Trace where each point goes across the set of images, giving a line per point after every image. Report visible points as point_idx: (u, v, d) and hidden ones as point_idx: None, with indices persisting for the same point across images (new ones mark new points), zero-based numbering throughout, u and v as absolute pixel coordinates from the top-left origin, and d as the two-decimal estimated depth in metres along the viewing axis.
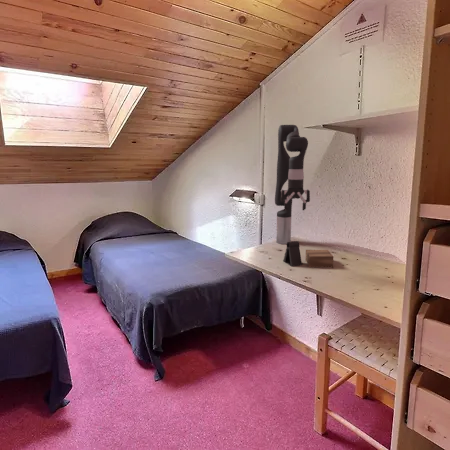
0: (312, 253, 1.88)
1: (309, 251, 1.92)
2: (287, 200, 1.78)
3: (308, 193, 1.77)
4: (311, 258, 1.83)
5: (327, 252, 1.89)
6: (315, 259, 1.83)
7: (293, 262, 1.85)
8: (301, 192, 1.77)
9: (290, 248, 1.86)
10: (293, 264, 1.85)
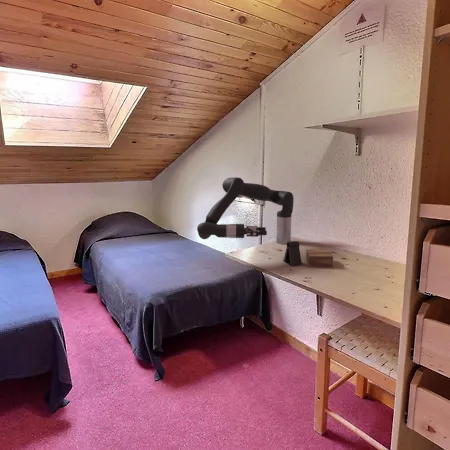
0: (312, 253, 1.88)
1: (309, 251, 1.92)
2: None
3: None
4: (310, 258, 1.83)
5: (327, 252, 1.89)
6: (314, 259, 1.83)
7: (293, 262, 1.85)
8: None
9: (290, 248, 1.86)
10: (293, 264, 1.85)
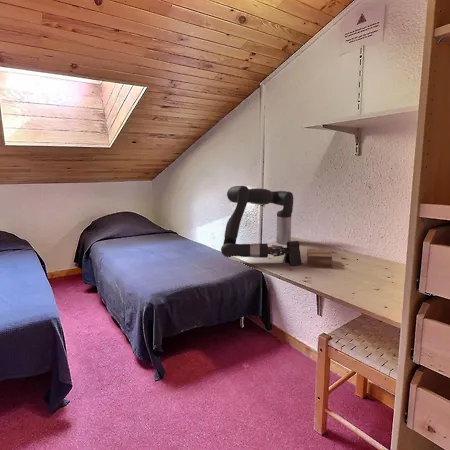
0: (312, 253, 1.88)
1: (310, 250, 1.92)
2: None
3: None
4: (309, 258, 1.83)
5: (327, 252, 1.88)
6: (313, 259, 1.83)
7: (293, 262, 1.85)
8: None
9: (290, 248, 1.86)
10: (293, 264, 1.85)
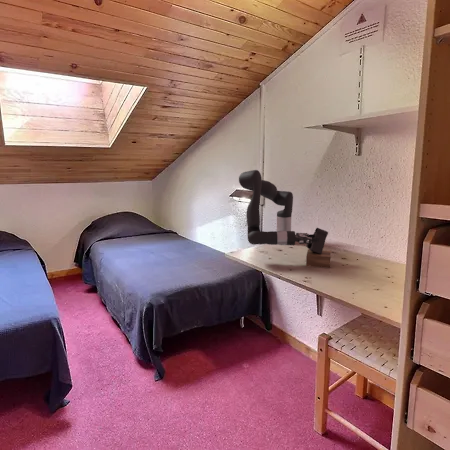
0: (311, 252, 1.89)
1: (310, 250, 1.92)
2: None
3: None
4: (308, 257, 1.84)
5: (327, 253, 1.88)
6: (311, 259, 1.84)
7: (314, 247, 1.85)
8: None
9: (317, 234, 1.86)
10: (313, 249, 1.84)
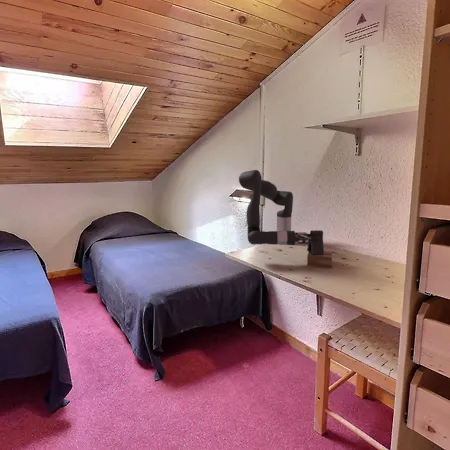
0: None
1: None
2: None
3: None
4: (309, 258, 1.84)
5: (329, 253, 1.87)
6: (313, 259, 1.83)
7: (314, 251, 1.85)
8: None
9: (312, 237, 1.85)
10: (314, 253, 1.84)
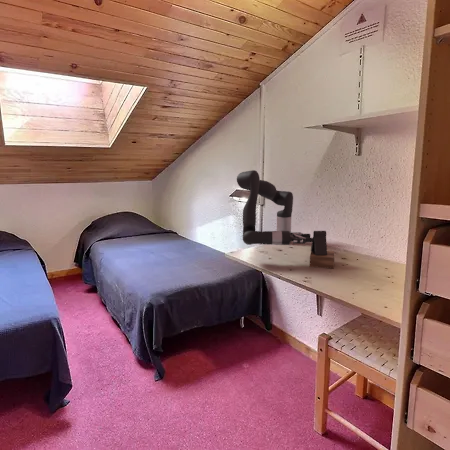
0: None
1: None
2: None
3: None
4: (311, 258, 1.83)
5: (331, 253, 1.87)
6: (315, 260, 1.83)
7: (317, 251, 1.84)
8: None
9: (316, 237, 1.85)
10: (317, 253, 1.84)
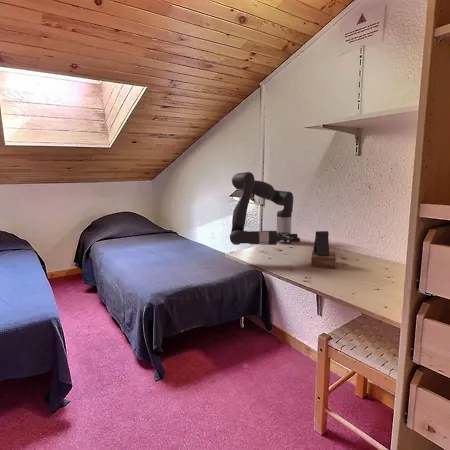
0: None
1: None
2: None
3: None
4: (313, 258, 1.82)
5: (332, 254, 1.86)
6: (316, 260, 1.82)
7: (319, 252, 1.83)
8: None
9: (318, 237, 1.84)
10: (319, 254, 1.83)
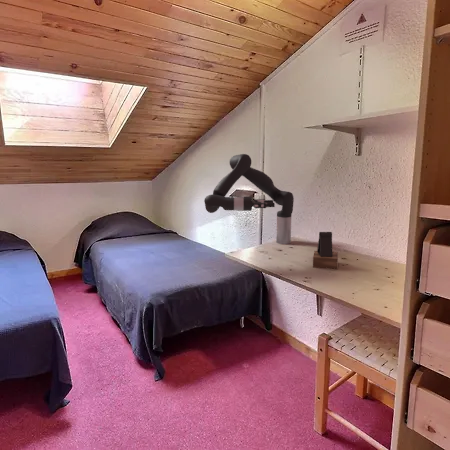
0: (318, 254, 1.86)
1: (317, 252, 1.90)
2: None
3: None
4: (314, 259, 1.81)
5: (334, 254, 1.85)
6: (318, 261, 1.81)
7: (322, 252, 1.82)
8: None
9: (321, 238, 1.83)
10: (322, 254, 1.82)
